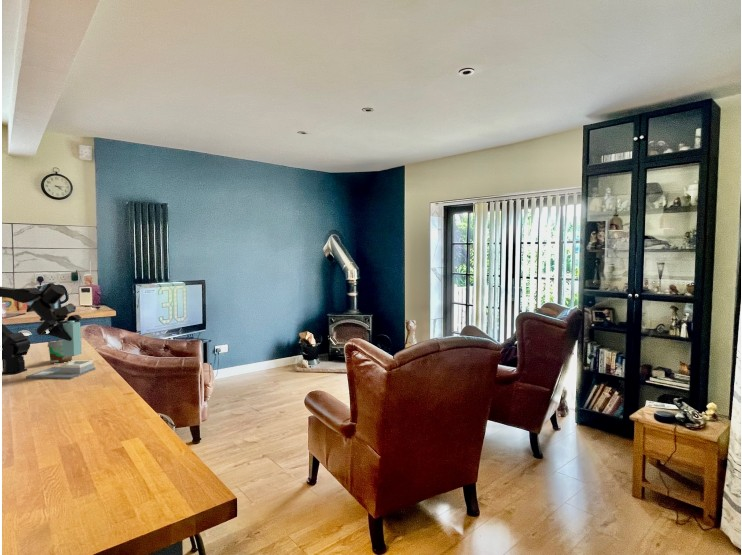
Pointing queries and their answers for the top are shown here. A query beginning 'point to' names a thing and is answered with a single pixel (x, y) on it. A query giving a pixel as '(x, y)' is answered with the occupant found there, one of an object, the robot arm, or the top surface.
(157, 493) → the top surface
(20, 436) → the top surface
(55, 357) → the food container
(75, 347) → the pillar
